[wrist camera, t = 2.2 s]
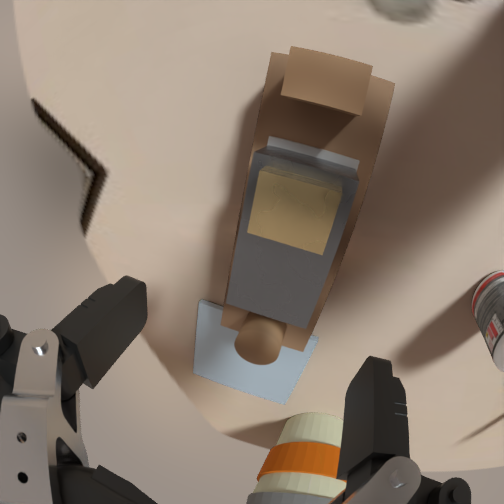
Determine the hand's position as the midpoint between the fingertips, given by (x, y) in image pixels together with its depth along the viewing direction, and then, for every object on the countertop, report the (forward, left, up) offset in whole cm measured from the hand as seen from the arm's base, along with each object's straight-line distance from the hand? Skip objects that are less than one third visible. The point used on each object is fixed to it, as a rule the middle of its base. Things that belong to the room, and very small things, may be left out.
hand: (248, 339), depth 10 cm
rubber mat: (+18, -1, -14) cm, 23 cm away
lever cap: (0, 0, -10) cm, 10 cm away
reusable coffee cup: (+29, +11, -15) cm, 34 cm away
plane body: (0, 0, -14) cm, 14 cm away
